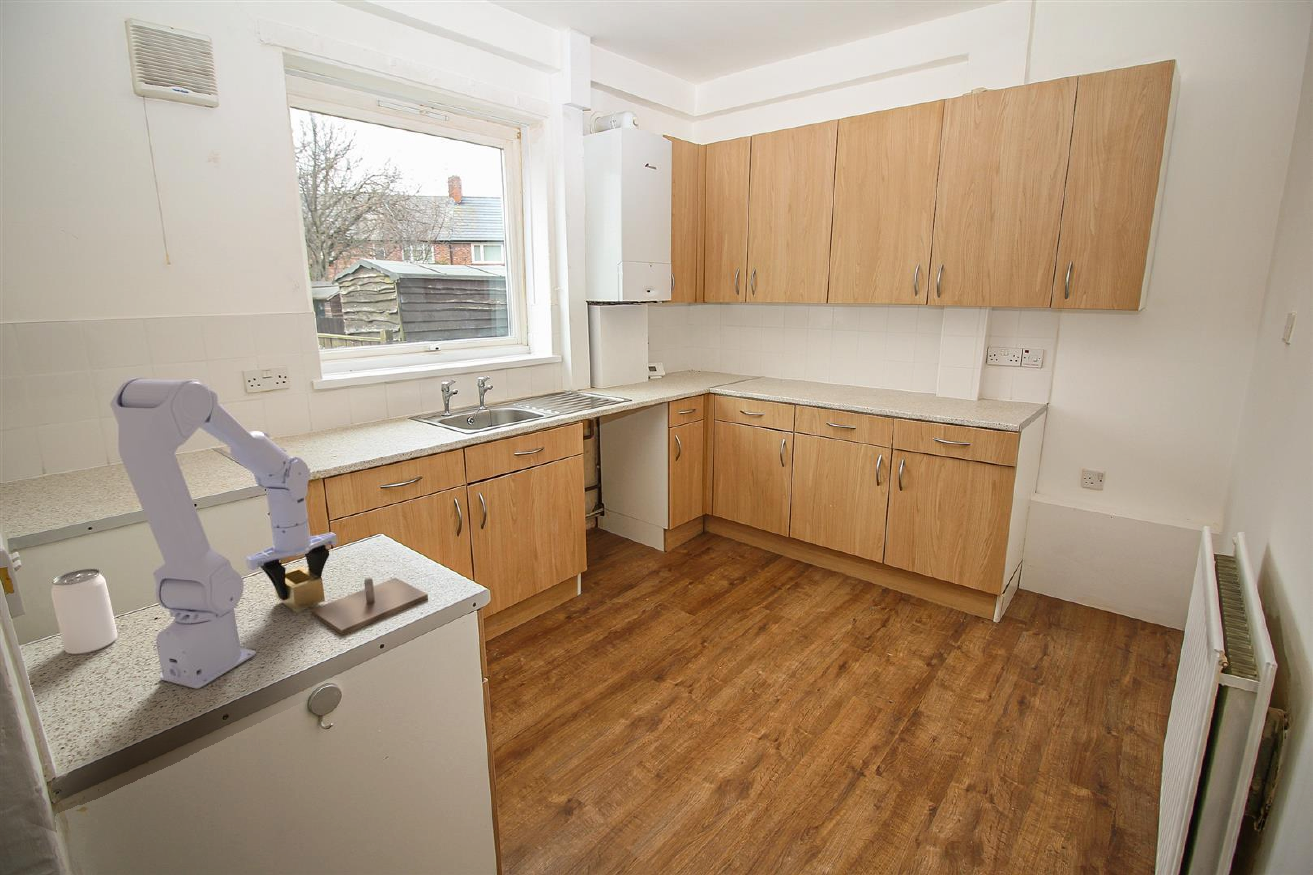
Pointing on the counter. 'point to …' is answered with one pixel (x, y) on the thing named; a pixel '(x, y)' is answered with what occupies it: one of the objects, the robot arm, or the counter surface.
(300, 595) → the link
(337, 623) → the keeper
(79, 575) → the can
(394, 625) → the counter surface
